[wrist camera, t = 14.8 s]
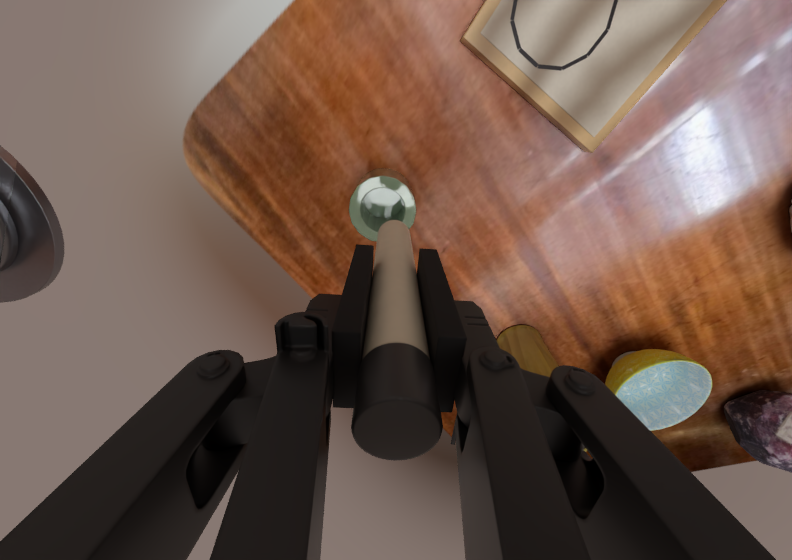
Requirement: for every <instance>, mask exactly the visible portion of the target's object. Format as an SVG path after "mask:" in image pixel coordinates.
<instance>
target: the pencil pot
mask: <svg viewBox="0 0 792 560" xmlns="http://www.w3.org/2000/svg"><path fill="white" fill-rule="evenodd" d="M349 214H350V218H351V222H352V224H353V225H354V227H355V228H356V229H357V231H358V232H359V233H360V234H361V235H363V236H364V237H366V238H367V239H369V240H371V241H376V242H377V237H378V231H379V229H380V227H381V226H382V225H383V224H384V223H385V222H387V221H390V220H398V221H401V222H403V223H404V224H405V225H406V226H407V227H408V229H410V228H411V226H412V225H413V223H414V219H415V215H416V205H415V199H414V195H413V192H412V188H411V186H410V184H409V182H408V181H407V179H406V178H405V177H404V176H403V175H402V174H400V173H399V172H397V171H395V170H393V169H388V168H379V169H375V170H372V171H370V172H368V173H367V174H366V175H365V176H363V178H362V179H361V180H360V182H359V183H358V185H357V187H356V189H355V190H354V192H353V194H352V196H351V198H350V205H349Z"/></svg>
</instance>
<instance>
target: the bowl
mask: <svg viewBox="0 0 792 560" xmlns="http://www.w3.org/2000/svg"><path fill="white" fill-rule="evenodd" d="M605 385H606V386H607V387H608V388H609V389H610V390H611V391H612V392H613V393H614V394H615V395H616V396H617V397H618V398H619V399H620V400H621V401H622V402H623V403H624V405H625V406H626V407H627V408H628V409H629V410H630V411H631V412H632V413H633V414H634V415H635V416H636V417H637V418H638V419H639V420H640V421H641V422H642V423H643V424H644V425H645V426H646V427H647V428H648V429H649V430H650V431H652V430H658V429H663V428H667V427H670V426H673V425H675V424H677V423H679V422H681V421H683V420H685V419H687V418H688V417H690V416H691V415H692V414H694V413H695V412H696V411H697V410H698V409H699V408H700V407H701V406H702V405H703V404H704V403H705V401H706V400H707V398H708V396H709V394H710V392H711V388H712V378H711V375H710V373H709V372H708V370H707V369H706V368H705V367H703V366H702V365H701V364H699V363H698V362H696V361H694V360H692V359H690V358H688V357H686V356H684V355H682V354H679V353H676V352H672V351H668V350H661V349H646V350H640V351H630V352H626V353H624V354H622V355H620V356H619V357H618V358H616V359H615V361H614V362H613V364H612V368H611V369H610V371H609V373H608V375H607V378H606V382H605Z"/></svg>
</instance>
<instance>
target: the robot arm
mask: <svg viewBox="0 0 792 560" xmlns="http://www.w3.org/2000/svg"><path fill="white" fill-rule="evenodd" d="M373 250H374V246H372V245H356V248H355V252H354V255H353V258H352V262H351V265H350V269H349V272H348V276H347V279H346V283H345V286H344V290H343V293H342V295H333V294H318V295H317V296H316V297H314V298H313V299H312V300H310V303H309V305H308V307H307V310H306V311H305V312H299V313H293V314H290V315H287V316H285V317H283V318H282V319H280V320H279V321H278V322H277V323H276V325H275V334H276V343H277V355H276V356H274V357H272V358H268V359H264V360H260V361H254V362H247V363H244V361H243V357H242V356H241V355H240V354H239V353H237V352H234V351H231V350H218V351H213V352H208V353H206V354H204V355H201V356H199V357H197V358H195V359H194V360H193V361H191V362H190V363H189V364H187V365H186V366H185V367H184V368H183V369H182V370H181V371H180V372H179V373H178V374H177V375H176V376H175V377H174V378H173V379H172V380H170V382H168V383H167V384H166V385H165V386H164V387H163V388H162V389H161V390H160V391H159V392H158V393H157V394H156V395H155V396H154V397H153V398H151V399H150V400H149V401H148V402H147V403H146V404H145V405H144V406H143V407H142V408H141V409H140V410H139V411H138V412H137V413H136V414H135V415H134V416H132V417H131V418H130V419H129V420H128V421H127V422H126V423H125V424H124V425H123V426H122V427H121V428H120V429H119V430H118V431H117V432H115V434H113V435H112V436H111V437H110V438H109V439H108V440H107V441H106V442H105V443H104V444H103V445H102V446H101V447H100V448H99V449H98V450H96V451H95V452H94V453H93V454H92V455H91V456H90V457H89V458H88V459H87V460H86V461H85V462H84V463H83V464H82V465H81V466H80V467H78V468H77V469H76V470H75V471H74V472H73V473H72V474H71V475H70V476H69V477H68V478H67V479H66V480H65V481H64V482H63V483H62V484H61V485H59V486H58V488H56V489H55V490H54V491H53V492H52V493H51V494H50V495H49V496H48V497H47V498H46V499H45V500H44V501H43V502H42V503H40V504H39V505H38V507H36V508H35V509H34V510H33V511H32V512H31V513H30V514H29V515H28V516H27V517H26V518H25V519H24V520H23V521H21V523H19V524H18V525H17V526H16V527H15V528H14V529H13V530H12V531H11V532H10V533H9V534H8V535H7V536H6V537H5V538H3V540H2V541H0V560H186V559H187V558H188V556H189V554H190V553H191V551H192V549H193V548H194V546H195V544H196V542H197V541H198V539H199V537H200V535H201V534H202V532H203V530H204V529H205V527H206V525H207V524H208V522H209V520H210V518H211V517H212V515H213V513H214V512H215V510H216V508H217V506H218V505H219V503H220V501H221V500H222V498H223V496H224V495H225V493H226V491H227V489H228V488H229V486H230V484H231V482H232V481H233V479H234V477H235V475H236V474H237V472H238V471H239V472H238V475H237V478H236V481H235V484H234V487H233V490H232V493H231V496H230V499H229V502H228V505H227V508H226V511H225V514H224V517H223V520H222V524H221V527H220V530H219V533H218V536H217V539H216V542H215V545H214V548H213V551H212V554H211V557H210V560H320V554H321V540H322V528H323V515H324V502H325V489H326V476H327V463H328V450H329V436H330V424H331V411H330V408H331V404H332V399H333V407H340V408H354V402H355V395H356V387H357V380H358V372H359V368H360V364H361V361H362V356H363V348H364V340H365V332H366V324H367V316H368V308H369V300H370V293H371V285H372V273H373ZM17 251H18V236H17V231H16V228H15V225H14V222H13V220H12V218H11V216H10V214H9V212H8V210H7V209H6V207H5V206H4V204H3V203H2V201H1V200H0V272H1V271H3V270H5V269H6V268H8V267H9V266H10V265H11V264H12V262H13V261H14V259H15V257H16V255H17ZM417 280H418V287H419V293H420V299H421V306H422V312H423V318H424V324H425V331H426V337H427V343H428V350H429V356H430V360H431V363H432V365H433V370H434V375H435V381H436V387H437V394H438V400H439V406H440V412H452V409H453V404H454V400H455V403H456V408H457V416H456V421H455V425H454V430H453V435H452V440H451V444H455V441H456V447H457V459H458V472H459V485H460V496H461V509H462V521H463V534H464V546H465V558H466V560H776V559H775V558H774V557H773V556H772V555H771V554H770V553H769V552H768V551H767V550H766V549H765V548H764V547H763V546H762V545H761V544H760V543H759V542H758V541H757V540H756V539H755V538H754V536H753V535H752V534H751V533H750V532H749V531H748V530H747V529H746V528H745V527H744V526H743V525H742V524H741V523H740V522H739V521H738V520H737V519H736V518H735V517H734V516H733V515H732V514H731V513H730V512H729V511H728V510H727V509H726V508H725V507H724V506H723V505H722V504H721V503H720V502H719V501H718V500H717V499H716V498H715V497H714V496H713V495H712V494H711V492H710V491H709V490H708V489H707V488H705V487H704V485H703V484H702V483H701V482H700V481H699V480H698V479H697V478H696V477H695V476H694V475H693V474H692V473H691V472H690V471H689V470H688V469H687V468H686V467H685V466H684V465H683V464H682V463H681V462H680V461H679V460H678V459H677V458H676V457H675V456H674V455H673V454H672V453H671V452H670V451H669V450H668V448H667V447H666V446H665V445H664V444H663V443H662V442H661V441H660V440H659V439H658V438H657V437H656V436H655V435H654V434H653V433H652V432H651V431H650V430H649V429H648V428H647V427H646V426H645V425H644V424H643V423H642V422H641V421H640V420H639V419H638V418H637V417H636V416H635V415H634V414H633V413H632V412H631V411H630V410H629V409H628V408H627V407H626V406H625V405H624V403H623V402H622V401H621V400H620V399H619V398H618V397H617V396H616V395H615V394H614V393H613V392H612V391H611V390H610V389H609V388H608V387H607V386H606V385H605V384H604V383H603V382H602V381H601V380H599V379H598V378H597V377H596V376H594V375H593V374H591V373H589V372H587V371H585V370H583V369H580V368H577V367H574V366H564V365H563V366H559V367H556V368H555V369H554V370H553V371H552V372H551V375H550V377H548V376H544V375H540V374H537V373H533V372H529V371H527V370H524V369H521V368H520V366H519V363H518V362H517V360H516V359H515V357H513V356H512V355H511V354H510V353H508V352H507V351H504V350H502V349H500V347H499V345H498V343H497V341H496V339H495V337H494V335H493V332H492V330H491V328H490V326H489V324H488V322H487V320H486V319H485V315H484V313H483V311H482V309H481V308H480V307H478V306H477V305H476V304H475V303H474V302H473V301H456V300H454V299H453V296H452V293H451V290H450V287H449V284H448V281H447V278H446V275H445V273H444V270H443V267H442V264H441V261H440V258H439V255H438V252H437V250H436V249H420V251H419V260H418V269H417ZM584 447H585V448H586V449H587V451H588V452H589V453H590V455H591V456H592V457H593V459H591V458H590V457H589V456H588V455H587V454H586V452H585V451H584Z"/></svg>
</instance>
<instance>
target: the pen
mask: <svg viewBox="0 0 792 560" xmlns="http://www.w3.org/2000/svg"><path fill="white" fill-rule="evenodd" d="M442 428H443V425H442V418H441V412H440V406H439V400H438V394H437V387H436V381H435V375H434V370H433V365H432V363H431V360H430V356H429V350H428V343H427V337H426V331H425V324H424V318H423V312H422V306H421V299H420V293H419V287H418V280H417V274H416V268H415V261H414V255H413V249H412V243H411V236H410V231H409V229H408V227H407V226H406V225H405V224H404V223H403V222H401V221H398V220H390V221H387V222H385V223H384V224H383V225H382V226H381V227H380V229H379V231H378V237H377V245H376V253H375V261H374V269H373V277H372V285H371V293H370V300H369V308H368V316H367V324H366V332H365V340H364V348H363V356H362V361H361V364H360V368H359V372H358V380H357V387H356V395H355V402H354V410H353V418H352V425H351V429H352V434H353V437H354V439H355V441H356V443H357V444H358V445H359V447H360V448H361V449H363V450H364V451H365V452H367V453H369V454H371V455H372V456H375V457H378V458H381V459H386V460H407V459H412V458H415V457H418V456H420V455H423V454H425V453H426V452H428V451H429V450H431V449H432V448H433V447H434V446H435V445H436V443H437V442H438V440H439V439H440V436H441V433H442Z"/></svg>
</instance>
